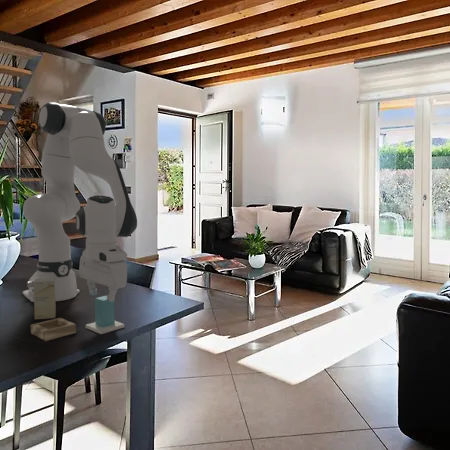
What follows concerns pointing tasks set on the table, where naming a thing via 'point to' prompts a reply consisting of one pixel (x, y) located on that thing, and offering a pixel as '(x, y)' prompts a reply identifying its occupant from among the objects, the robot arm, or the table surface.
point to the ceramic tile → (104, 329)
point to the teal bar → (104, 312)
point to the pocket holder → (53, 329)
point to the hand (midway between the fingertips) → (101, 297)
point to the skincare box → (44, 298)
